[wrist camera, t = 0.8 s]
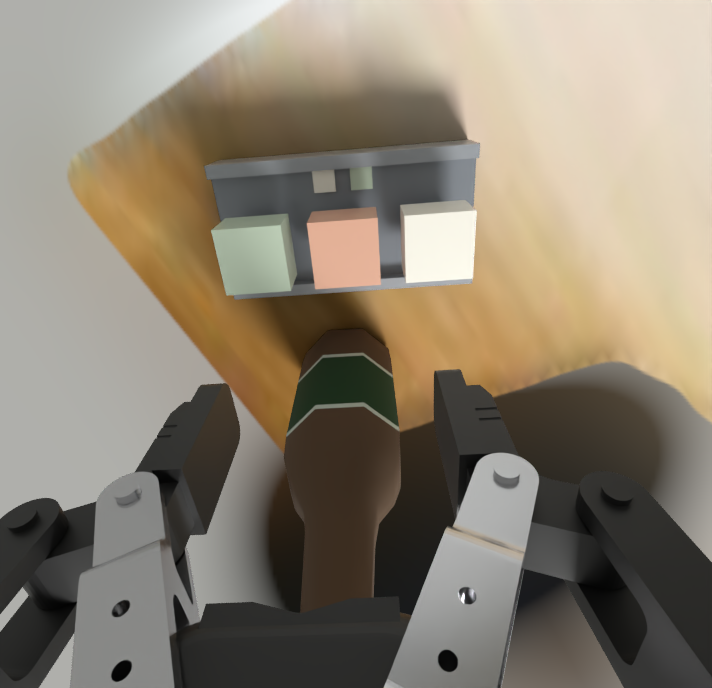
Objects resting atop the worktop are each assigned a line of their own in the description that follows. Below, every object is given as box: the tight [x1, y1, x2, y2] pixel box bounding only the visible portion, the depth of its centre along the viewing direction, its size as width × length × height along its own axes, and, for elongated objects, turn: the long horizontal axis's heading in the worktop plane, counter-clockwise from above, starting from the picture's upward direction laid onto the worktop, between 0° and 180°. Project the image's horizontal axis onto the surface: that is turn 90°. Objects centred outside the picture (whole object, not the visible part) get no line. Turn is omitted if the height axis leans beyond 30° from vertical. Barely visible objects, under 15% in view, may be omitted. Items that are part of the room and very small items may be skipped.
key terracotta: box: [307, 207, 381, 289], centre depth 27 cm, size 4×4×3 cm
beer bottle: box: [284, 329, 401, 613], centre depth 27 cm, size 8×8×24 cm
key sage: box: [211, 213, 297, 295], centre depth 27 cm, size 4×4×3 cm
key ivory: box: [400, 200, 477, 283], centre depth 26 cm, size 4×4×3 cm
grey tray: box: [204, 140, 480, 299], centre depth 30 cm, size 17×9×5 cm, turn 94°
